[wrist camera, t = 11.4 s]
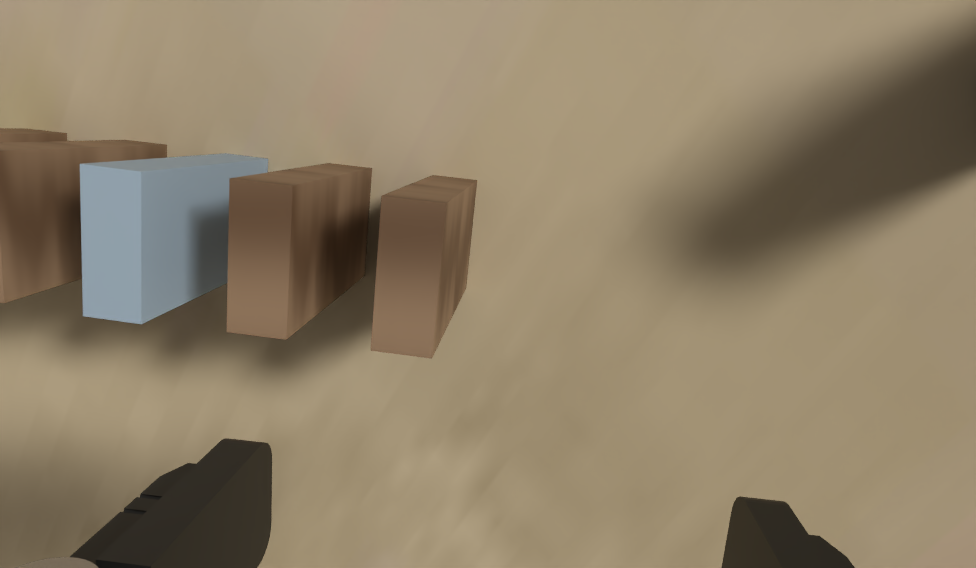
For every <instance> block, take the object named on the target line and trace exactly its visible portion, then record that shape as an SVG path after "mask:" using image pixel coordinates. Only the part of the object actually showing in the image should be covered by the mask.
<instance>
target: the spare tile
mask: <svg viewBox="0 0 976 568" xmlns="http://www.w3.org/2000/svg"><path fill="white" fill-rule="evenodd" d="M261 173H268V159H266V158H258V157H250V156H242V155H234V154H226V153H225V154H211V155H197V156H183V157H169V158H154V159H140V160H126V161H112V162H98V163H84V164H80V201H81V248H82V294H83V316H85V317H93V318H100V319H107V320H114V321H121V322H128V323H136V324H143V323H145V322H147V321H149V320H151V319H153V318H155V317H158V316H160V315H162V314H164V313H166V312H168V311H170V310H172V309H174V308H176V307H178V306H180V305H182V304H185V303H187V302H189V301H191V300H193V299H195V298H197V297H199V296H201V295H203V294H205V293H207V292H209V291H212V290H214V289H216V288H218V287H220V286H222V285H224V284H226V283H228V230H229V178H235V177H241V176H248V175H255V174H261Z"/></svg>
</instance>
